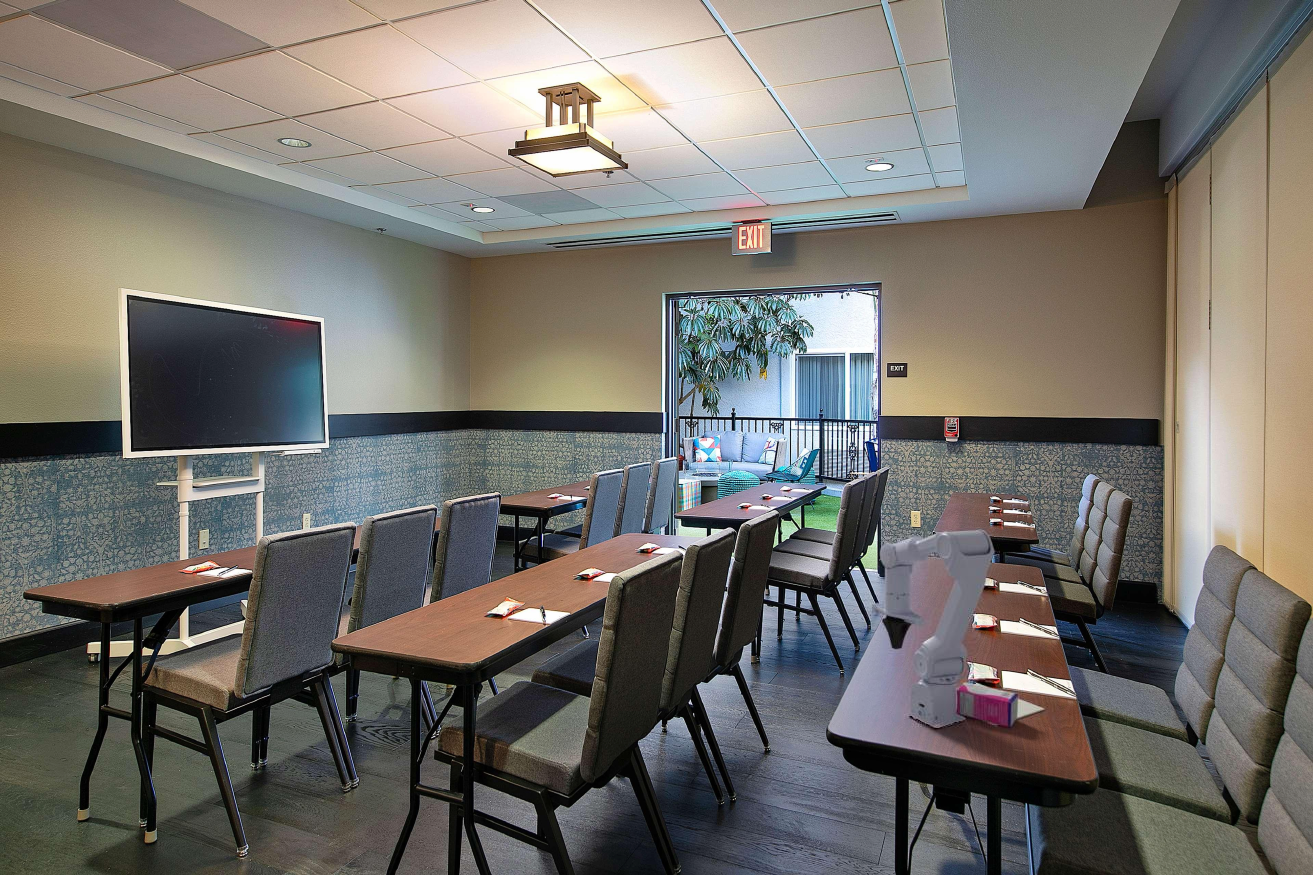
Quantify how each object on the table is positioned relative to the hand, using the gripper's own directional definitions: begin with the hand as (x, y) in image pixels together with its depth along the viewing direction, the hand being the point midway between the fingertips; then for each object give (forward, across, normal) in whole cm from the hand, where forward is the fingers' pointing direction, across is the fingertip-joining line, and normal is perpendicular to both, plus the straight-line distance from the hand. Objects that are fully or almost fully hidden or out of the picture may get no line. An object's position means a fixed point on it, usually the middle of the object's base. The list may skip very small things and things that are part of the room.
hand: (896, 647), depth 181 cm
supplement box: (+7, -27, -7) cm, 29 cm away
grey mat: (+10, -16, -12) cm, 22 cm away
